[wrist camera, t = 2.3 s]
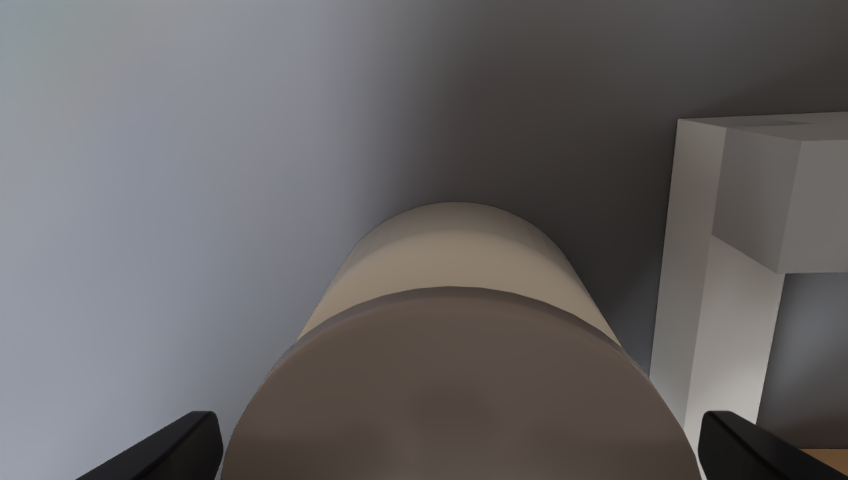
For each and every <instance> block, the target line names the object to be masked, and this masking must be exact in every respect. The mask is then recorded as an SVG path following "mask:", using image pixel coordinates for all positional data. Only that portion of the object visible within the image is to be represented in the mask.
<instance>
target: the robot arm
mask: <svg viewBox="0 0 848 480" xmlns="http://www.w3.org/2000/svg"><path fill="white" fill-rule="evenodd" d="M222 457H223V442H222V437H221V433H220V428H219V423H218V419H217V416H216V414H215V413H214V412H212V411H192V412H190V413H188V414H186V415H185V416H183V417H181V418H180V419H178V420H176V421H174V422H173V423H171V424H169V425H168V426H166V427H164V428H163V429H161V430H159V431H157V432H156V433H154V434H152V435H151V436H149V437H147V438H146V439H144V440H142V441H140V442H139V443H137V444H135V445H134V446H132V447H130V448H129V449H127V450H125V451H123V452H122V453H120V454H118V455H117V456H115V457H113V458H112V459H110V460H108V461H106V462H105V463H103V464H101V465H100V466H98V467H96V468H94V469H93V470H91V471H89V472H88V473H86V474H84V475H83V476H81V477H79V478H77V479H76V480H214V479H215V476H216V474H217V471H218V468H219V466H220V463H221V460H222ZM698 458H699V461H700V464H701V467H702V469H703V471H704V474H705V476H706V479H707V480H848V476H847V475H845V474H843V473H841V472H839V471H838V470H836V469H834V468H832V467H831V466H829V465H827V464H825V463H823V462H822V461H820V460H818V459H816V458H814V457H813V456H811V455H809V454H807V453H805V452H804V451H802V450H800V449H798V448H797V447H795V446H793V445H791V444H789V443H788V442H786V441H784V440H782V439H780V438H779V437H777V436H775V435H773V434H771V433H770V432H768V431H766V430H764V429H762V428H761V427H759V426H757V425H755V424H754V423H752V422H750V421H748V420H746V419H745V418H743V417H741V416H739V415H737V414H736V413H734V412H732V411H728V410H709V411H707V412H705V413H704V415H703V418H702V423H701V429H700V436H699V442H698Z"/></svg>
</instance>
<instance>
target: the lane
mask: <svg viewBox="0 0 848 480" xmlns="http://www.w3.org/2000/svg"><path fill="white" fill-rule="evenodd" d="M836 272H848V112H827V113H804V114H781V115H758V116H735V117H712V118H689V119H678V124H677V133H676V142H675V151H674V160H673V169H672V178H671V187H670V196H669V205H668V214H667V223H666V232H665V241H664V250H663V259H662V268H661V277H660V286H659V295H658V304H657V313H656V322H655V331H654V340H653V349H652V358H651V367H650V376H649V379H650V380H651V382H652V383H653V385H654V386H655V388H656V389H657V390H658V392H659V393H660V395H661V396H662V398H663V400H664V401H665V403H666V404H667V406H668V407H669V409H670V410H671V412H672V413H673V415H674V417H675V418H676V420H677V421H678V423H679V424H680V426H681V427H682V429H683V431H684V433H685V435H686V437H687V439H688V441H689V443H690V445H691V447H692V450H693V452H694V454H695V456H696V460H697V463H698V467H699V470H700V474H701V478H702V480H707V479H706V476H705V474H704V471H703V469H702V467H701V464H700V461H699V458H698V442H699V436H700V429H701V423H702V418H703V415H704V413H705V412H707V411H709V410H728V411H732V412H734V413H736V414H737V415H739V416H741V417H743V418H745V419H746V420H748V421H750V422H752V423H754V424H755V425H756V420H757V415H758V410H759V405H760V400H761V395H762V390H763V385H764V380H765V375H766V370H767V364H768V359H769V354H770V349H771V344H772V339H773V334H774V329H775V324H776V319H777V314H778V309H779V304H780V299H781V294H782V288H783V283H784V278H785V274H788V273H836Z"/></svg>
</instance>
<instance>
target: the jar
mask: <svg viewBox="0 0 848 480" xmlns="http://www.w3.org/2000/svg"><path fill="white" fill-rule="evenodd" d="M221 480H702V478H701V474H700V470H699V467H698V463H697V460H696V456H695V454H694V452H693V450H692V447H691V445H690V443H689V441H688V439H687V437H686V435H685V433H684V431H683V429H682V427H681V426H680V424H679V423H678V421H677V420H676V418H675V417H674V415H673V413H672V412H671V410H670V409H669V407H668V406H667V404H666V403H665V401H664V400H663V398H662V396H661V395H660V393H659V392H658V390H657V389H656V388H655V386H654V385H653V383H652V382H651V380H650V379H649V377H648V376H647V375H646V373H645V372H644V370H643V369H642V368H641V367H640V366H639V365H638V364H637V363H636V361H635V360H634V359H633V358H632V357H631V356H630V355H629V354H628V353H627V352H626V351H625V350H624V349H623V348H622V346H621V344H620V343H619V341H618V340H617V338H616V336H615V335H614V333H613V331H612V330H611V328H610V327H609V325H608V323H607V322H606V320H605V319H604V317H603V315H602V314H601V312H600V311H599V309H598V307H597V306H596V304H595V303H594V301H593V299H592V298H591V296H590V294H589V293H588V291H587V290H586V288H585V286H584V285H583V283H582V282H581V280H580V278H579V277H578V275H577V274H576V272H575V270H574V269H573V267H572V265H571V264H570V262H569V261H568V260H567V258H566V257H565V255H564V254H563V252H562V251H561V250H560V249H559V247H558V246H557V245H556V244H555V243H554V242H553V241H552V240H551V239H550V238H549V237H548V236H547V235H545V234H544V233H543V232H542V231H541V230H539V229H538V228H537V227H536V226H534V225H532V224H531V223H529V222H527V221H526V220H524V219H522V218H521V217H518V216H516V215H514V214H512V213H509V212H507V211H505V210H502V209H498V208H495V207H491V206H488V205H482V204H476V203H470V202H444V203H434V204H429V205H425V206H420V207H416V208H413V209H410V210H408V211H405V212H402V213H399V214H397V215H395V216H394V217H392V218H390V219H388V220H386V221H384V222H383V223H381V224H380V225H378V226H377V227H376V228H374V229H373V230H371V231H370V232H369V233H368V234H367V235H366V236H365V237H364V238H363V239H361V240H360V241H359V242H358V243H357V245H356V246H355V247H354V248H353V250H352V251H351V252H350V253H349V255H348V256H347V258H346V259H345V261H344V263H343V264H342V266H341V267H340V269H339V271H338V272H337V274H336V276H335V277H334V279H333V281H332V282H331V284H330V286H329V287H328V289H327V291H326V292H325V294H324V295H323V297H322V299H321V300H320V302H319V304H318V305H317V307H316V309H315V310H314V312H313V314H312V315H311V317H310V319H309V320H308V322H307V323H306V325H305V327H304V328H303V330H302V332H301V333H300V335H299V337H298V338H297V340H296V342H295V343H294V345H292V346H291V347H290V348H289V349H288V350H287V351H286V352H285V353H284V354H283V356H282V357H281V358H280V359H279V360H278V362H277V363H276V364H275V365H274V367H273V368H272V369H271V370H270V372H269V373H268V375H267V376H266V378H265V379H264V381H263V382H262V384H261V386H260V387H259V389H258V390H257V392H256V394H255V395H254V397H253V398H252V400H251V401H250V403H249V405H248V406H247V408H246V410H245V411H244V413H243V415H242V417H241V418H240V420H239V422H238V423H237V425H236V427H235V429H234V431H233V434H232V436H231V439H230V442H229V444H228V447H227V450H226V453H225V457H224V463H223V468H222V473H221Z"/></svg>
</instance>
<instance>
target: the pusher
mask: <svg viewBox="0 0 848 480" xmlns="http://www.w3.org/2000/svg"><path fill="white" fill-rule="evenodd" d="M800 450H802V451H804V452H805V453H807V454H809V455H811V456H813V457H814V458H816V459H818V460H820V461H822V462H823V463H825V464H827V465H829V466H831V467H832V468H834V469H836V470H838V471H839V472H841V473H843V474H845V475H847V476H848V449H800Z"/></svg>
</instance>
